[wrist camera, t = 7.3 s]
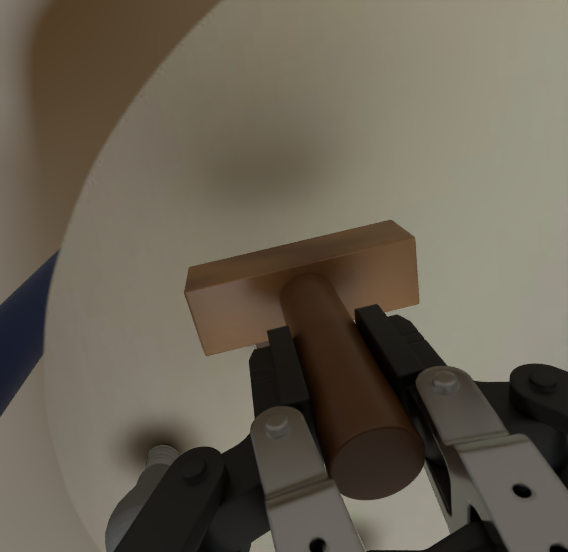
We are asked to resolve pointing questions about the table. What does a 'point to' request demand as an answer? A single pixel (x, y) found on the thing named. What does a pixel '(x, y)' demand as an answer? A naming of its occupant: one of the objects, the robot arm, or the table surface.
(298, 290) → the wooden rubber stamp
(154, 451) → the light bulb
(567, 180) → the table surface
